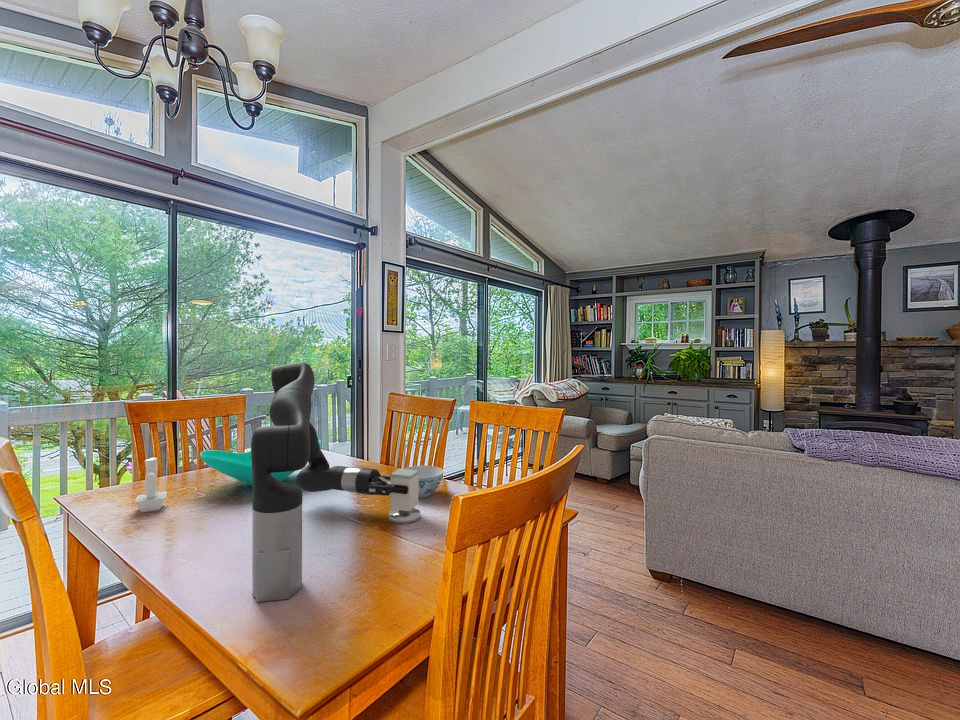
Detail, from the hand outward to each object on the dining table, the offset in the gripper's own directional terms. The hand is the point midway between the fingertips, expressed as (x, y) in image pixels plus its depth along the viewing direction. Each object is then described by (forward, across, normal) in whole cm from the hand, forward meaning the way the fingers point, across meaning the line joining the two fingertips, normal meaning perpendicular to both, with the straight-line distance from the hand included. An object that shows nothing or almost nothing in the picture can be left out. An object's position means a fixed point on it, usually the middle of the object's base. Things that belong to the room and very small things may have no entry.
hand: (412, 486), depth 130 cm
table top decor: (-63, +13, +10) cm, 65 cm away
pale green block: (-2, 0, +6) cm, 6 cm away
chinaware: (-6, +21, +10) cm, 24 cm away
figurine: (-77, -18, +10) cm, 79 cm away
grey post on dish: (-2, 0, +9) cm, 10 cm away
